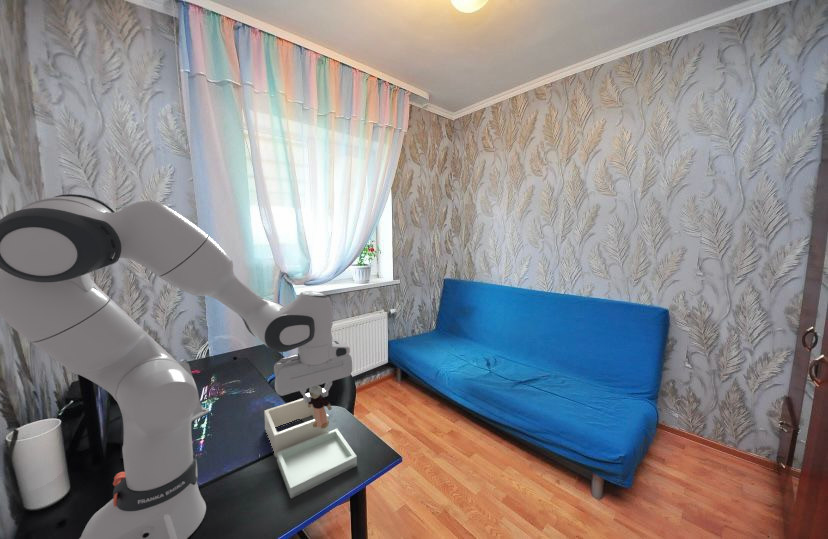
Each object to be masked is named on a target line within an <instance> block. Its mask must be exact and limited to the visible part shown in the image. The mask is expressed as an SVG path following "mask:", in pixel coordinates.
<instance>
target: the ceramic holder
mask: <svg viewBox="0 0 828 539" xmlns="http://www.w3.org/2000/svg"><path fill="white" fill-rule="evenodd" d="M263 414H264V431H265V430H266V431H265V433H267V434H266V436H267V435H268V436H267V438H269V439H268V441H269V440H270V442H269V444H270V443H271V445H270V446H272V447H271V449H272V448H273V450H272V452H273V451H274V453H273V455H274V457H275V458H277V452H279V451H282V450H284V449H287V448H289V447H292V446H294V445H297V444H299V443H302V442H304V441H307V440H309V439H312V438H314V437H317V436H319V435H322V434H324V433H327V432H329V430H330V428H329V426H330V423H329V424H328V426H327V427H326V428H321V427H313V423H314V422H315V415H314V410H313V405H311V407H310V408H309V407H308V403H305V402H304V400H303V398H299V399H297V400H294V401H293V400H292V401H290V402H286V403H284V404H281V405H278V406H274V407H271V408H268V409H266V410H265V409H264V413H263ZM326 415H327V420H328V421H329V420H330V418H329V414H328V413H327V412H326ZM311 416H312V417H313V419H311V420H308V421H305V422H302V423H299V424H296V425H294V426H290V427H289V428H286V429H283V430H281V431H278V430H277V428H275V427H278V426H280V425H283V424H286V423H289V422H292V421H294V420H296V419H300V420H302V419H306V418H308V417H311ZM329 422H330V421H329ZM292 423H293V422H292ZM289 424H290V423H289ZM286 425H287V424H286ZM283 426H284V425H283ZM278 428H279V427H278Z"/></svg>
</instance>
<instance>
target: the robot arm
mask: <svg viewBox="0 0 828 539" xmlns="http://www.w3.org/2000/svg"><path fill="white" fill-rule="evenodd" d="M120 259H127V260H131V261H134V262H135V263H138V264H139V265H141V266H143V267H144V268H145V269H147V270H148V271H150V272H152V273H153V274H154V275H156V276H157V277H158V278H160V279H161V280H163V281H165V282H166V283H168V284H169V285H171V286H173V287H175V288H177V289H179V290H181V291H183V292H185V293H187V294H190V295H192V296H196V297H197V296H199V297H201V296H207V297H211V298H213V299H215V300H217V301H219V302H220V303H221V304H223V305H225V306H226V307H227V308H229V310H231V311H232V312H234V313H235V314H237V315H238V316H239V317H240V318H241V319H242V321H243V323H244V325H245V328H246V330H247V331H248V332H249V333H250V335H252V336H254V337H256V338H257V339H258V340H259V341H260V342H261V343H263V344H264V345H265V346H266V347H267V348H269V349H270V350H271V351H274V352H277V353H287V352H289V351H292V350H295V349H297V354H295V355H291V356H288V357H282V358H280V359H279V360H278V361H276V362H275V363H274V365H273V374H274V375H275V377H274V390H275V391H276V394H277V395H279V396H281V397H283V396H286V395H290V394H292V393H297V392H300V394H301V395H302V396H303V400H304V402H305V403H308V402H310V401H311V394H310V392H307V390H308V389H310V387H313V386H317V385H318V386H320V385H323V384H324V386H323V387H322V390H323V391H322V393H321V394H320V396H321V397H322V398H325V397H328V396H329V391H330V389H331V387H332V386H333V382H334V381H336V380H340V379H344V378H346V377H347V378H348V377H349V376H351V375H352V374H353V358H352V355H350V352H351V348H350V346H348V344H347V343H345V342H343V340H340V339H333V335H332V328H333V323H334V322H333V315H334V314H333V307H332V301H331V298H330V296H328V295H327V294H325V293H322V292H319V291H312V290H309V291H302V292H300V293H299V295H298V296H297V297H296V298H294V300H293V301H291V302H289V303H288V304H286V305H282V304H281V303H279V302H278V301H275V300H273V299H267V298H264V297H262V296H260V295H258V293H257V294H256V292H254V291H253V290H252V289H251V288H250V287H249V286H247V285H246V284H245V283H244V282H242V281H241V280H240V279H239V278H238V277H237V275H236V274H235V272H234V263H233V260H232V259H231V257H230V256H229V255H228V254H227V252H226V251H225V250H224V249H223V248H222V247H221V246H220V244H219V243H217V242H216V241H215V240H214V239H213V238H212V237H211V236H210V235H209V234H207V233H206V232H205V231H204V230H202V228H200V227H198V225H196V224H194V222H192V221H190V220H189V219H188V218H186V217H185V216H183V215H182V214H180V213H178V212H177V211H175V210H174V209H172V208H170V207H169V206H167V205H166V204H163V203H161V202H158V201H155V200H145V201H144V200H143V201H138V202H135V203H131V204H129V205H127V206H125V207H123V208H122V209H120V210H118V211H116V210H115V209H114V208H113V207H111V206H110V205H109V204H108V203H106V202H104V201H102V200H100V199H98V198H96V197H92V196H87V195H83V194H72V193H71V194H70V193H68V194H61V195H59V194H58V195H57V196H53V197H47V198H43V199H40V200H39V199H38V200H36V201H33V202H30V203H28V204H26V205H25V206H23V207H22V208H21V209H18V210H16V211H13V212H10V213H9V214H6V215H5V216H3V217H2V218H1V219H0V317H1V318H2V319H3V320H4V321H5V322H6V323H7V324H8V325H9V326H10V327H11V328H13V330H14V331H16V332H17V334H19V335H20V336H22V337H24V338H25V339H26V340H27V341H29V342H30V343H31V344H32V345H34V346H35V347H36V348H38V349H39V350H41V351H42V352H44V353H45V354H46V355H48V356H49V357H50V358H52V359H53V360H55V361H56V362H57V363H59V364H60V365H62V366H63V367H64V368H65V369H67V370H68V371H70V373H73V374H75V375H79V376H81V377H83V378H85V379H87V380H89V381H91V382H93V383H94V384H95V385H98V386H99V387H101V388H102V389H104V390H105V391H107V393H109V394H110V395H111V396H112V397H113V399H114V400H115V401H116V402H117V405H118V408H119V411H120V413H121V416H122V423H123V424H122V425H123V426H122V427H123V442H122V444H123V445H122V446H121V448H122V449H121V450H122V451H121V452H122V459H123V468H124V471H120V472H118V473H116V474H115V476H114V477H113V482H112V485H113V486H114V488H113V491H112V499H110V500H109V501H108V502H107V503H106V504H105V505H103V507H101V508H100V509H99V510H98V511H96V512H95V513H94V514H92V516H91V518H90V519H89V521H88V522H87V524H86V525H85V528H84V529H83V531H82V533H81V536H80V537H79V539H188V538H189V537H190V536H192V534H194V532H195V531H196V530H197V529H198V528H199V526H200V524H201V523H202V522H203V519H204V518H205V515H206V512H207V505H206V502H205V500H204V498H203V496H202V495H201V492H200V490H199V486H198V475H199V474H198V463H197V459H196V454H195V452H194V451H193V437H192V416H193V412H194V410H195V408H196V406H197V404H198V398H199V399H200V397H199V391H198V387H197V384H196V381H195V379H194V377H193V378H192V376H193V375H192V376H191V375H190V374H189V373H188V372H187V371H186V370H185V369H184V368H183V367H182V366H181V365H180V364H179V363H180V362H178V361H177V360H176V359H175V358H174V357H173V356H172V355H171V354H169V352H167V350H165V349H164V347H162V346H161V345H160V344H159V343H158V342H157V341H156V340H155V339H154V338H153V337H152V336H151V335H149V334H148V332H147V331H146V330H145V329H143V328H142V327H141V326H140V325H139V324H138V323H137V322H136V321H135V320H133V318H131V317H130V315H129V314H127V313H126V311H125V310H123V309H122V308H121V307H120V306H119V305H118V304H117V303H116V302H115V301H114V300H113V299H112V298H111V297H110V296H109V295H107V294H106V292H104V291H103V290H102V289H101V288H100V287H99V286H98V285H97V284H96V283H95V282H94V281H93V279H92V277H91V275H90V274H91V273H92V272H95V271H97V270H100V269H102V268H106V267H108V266H111V265H114V264H116V263H117V262H118V261H119V260H120ZM306 392H307V393H306Z"/></svg>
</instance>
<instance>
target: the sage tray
mask: <svg viewBox="0 0 828 539" xmlns="http://www.w3.org/2000/svg"><path fill="white" fill-rule="evenodd" d="M357 457H358V456H357V454H356V453H355V452H354V450H353V449H352V447H351V445H349V443H348V441H346V439H345V438H344V436H343V435H342V433H341V432H340V431H339V429H338V428H335V429H332V430H330V431H329V432H327V433H324V434H322V435H319V436H317V437H314V438H312V439H309V440H307V441H304V442H302V443H299V444H297V445H294V446H292V447H289V448H287V449H284V450H282V451H279V452H277V457H276V464H277V465H278V466H277V467H278V469H279V472H280V474H281V476H282V479H283V482H284V484H285V487H286V490H287V493H288V496H289V497H290V499H293V498H295V497H297V496H299V495H302V494H303V493H305V492H307V491H309V490H311V489H313V488H315V487H317V486H319V485H321V484H323V483H325V482H327V481H329V480H331V479H333V478H334V477H336V476H339V475H341V474H343V473H345V472H348V471H349V470H350V469H351V470H352V469H353V468H355V467H357V466H358V465H357V464H358V458H357Z"/></svg>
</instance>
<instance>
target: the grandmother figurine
mask: <svg viewBox="0 0 828 539" xmlns="http://www.w3.org/2000/svg"><path fill="white" fill-rule="evenodd" d="M308 389H309V390H308V391H309V394H310V396H311V401H310V402H308V407H309V408H310V407H311V405H313V410H314V415H315V422H314V423H313V427H321V428H326V427H327V426H328V424H329V425H330V421H328V420H327V415H326V413H327V410H328V411H331V410H332V409H333V407H332V406H331V403H330V401H328V400H327V399H326V398H325V397H322V396H321V393H322V391H323V390H322V389H323V387H321V386H320V385H317V386H313V387H310V388H308ZM325 407H326V409H327V410H326V409H325Z"/></svg>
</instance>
